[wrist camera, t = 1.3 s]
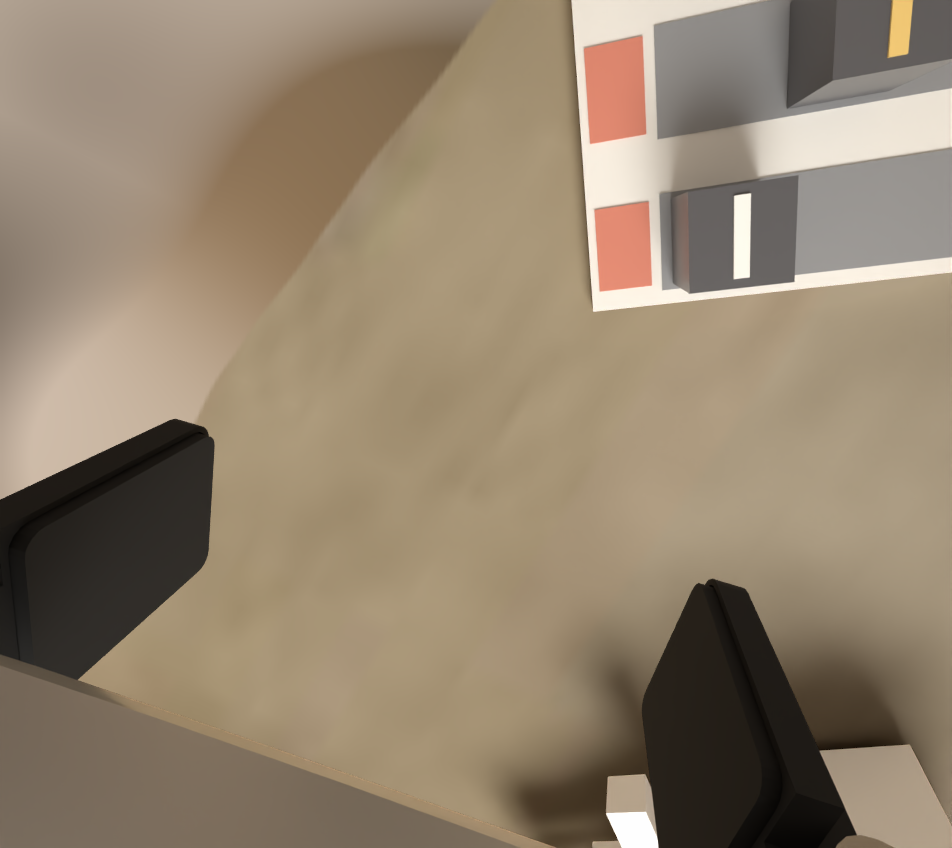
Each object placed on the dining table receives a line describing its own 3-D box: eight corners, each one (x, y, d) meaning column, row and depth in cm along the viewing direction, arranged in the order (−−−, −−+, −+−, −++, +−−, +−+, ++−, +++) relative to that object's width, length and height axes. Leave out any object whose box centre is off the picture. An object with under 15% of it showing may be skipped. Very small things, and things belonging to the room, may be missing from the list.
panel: (1193, -337, 19) (1464, -593, 13) (1081, 254, 25) (1233, 261, 19) (561, -150, 24) (551, -275, 18) (593, 308, 30) (594, 328, 24)
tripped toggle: (898, -20, 23) (980, -87, 18) (889, 90, 24) (963, 56, 19) (790, 3, 23) (840, -54, 19) (786, 109, 25) (833, 80, 20)
